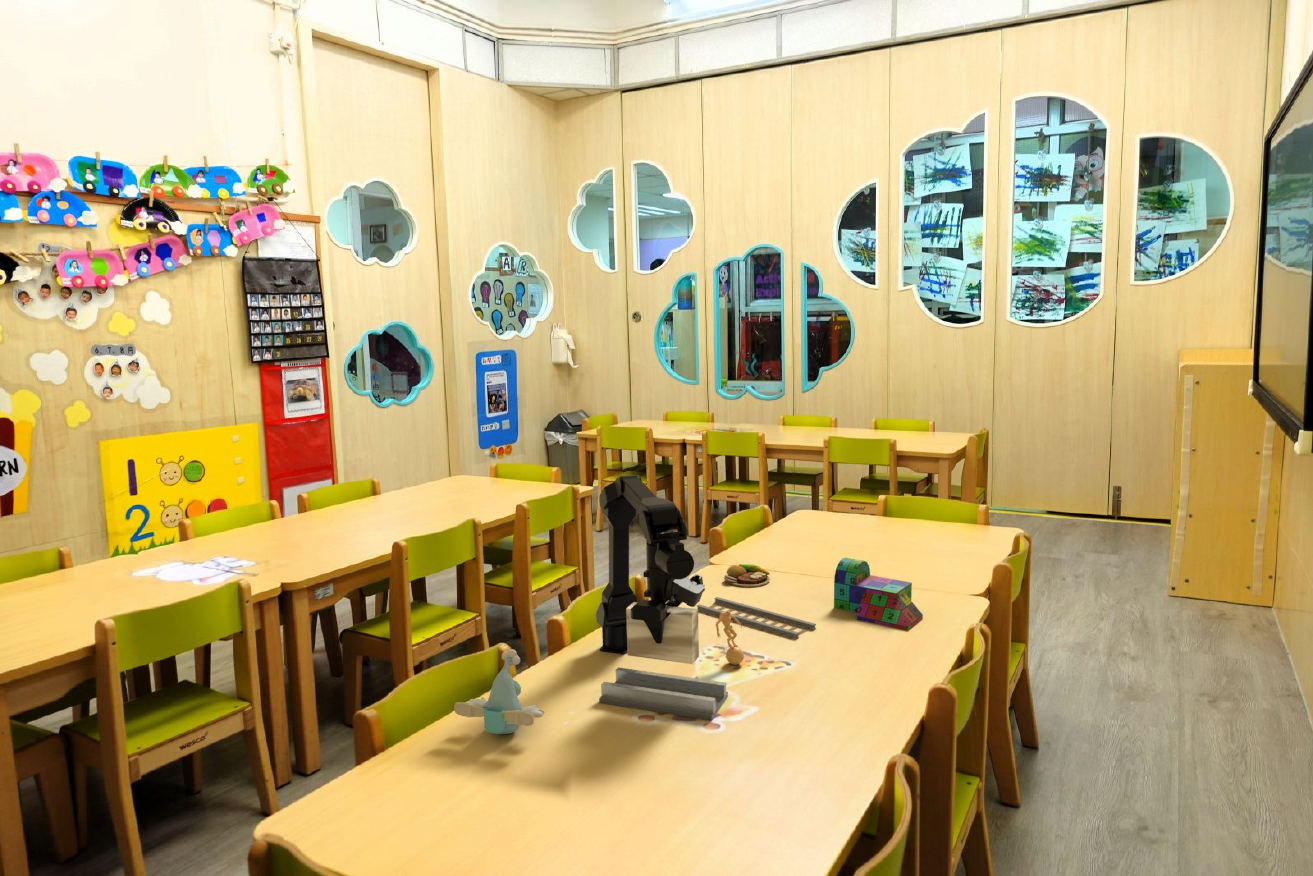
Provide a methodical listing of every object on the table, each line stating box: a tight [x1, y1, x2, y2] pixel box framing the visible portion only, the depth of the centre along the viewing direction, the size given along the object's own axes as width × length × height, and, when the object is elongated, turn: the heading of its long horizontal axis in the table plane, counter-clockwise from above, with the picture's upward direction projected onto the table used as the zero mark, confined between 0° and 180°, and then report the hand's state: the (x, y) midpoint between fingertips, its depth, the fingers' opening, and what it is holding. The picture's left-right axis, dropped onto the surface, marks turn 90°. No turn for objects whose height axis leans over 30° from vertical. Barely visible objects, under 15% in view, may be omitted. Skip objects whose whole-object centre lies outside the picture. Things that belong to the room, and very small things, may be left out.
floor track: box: [598, 667, 729, 721], centre depth 177 cm, size 24×11×4 cm, turn 69°
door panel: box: [626, 601, 700, 665], centre depth 175 cm, size 4×14×10 cm, turn 69°
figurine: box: [715, 610, 745, 666], centre depth 193 cm, size 8×6×12 cm
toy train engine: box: [833, 557, 924, 631], centre depth 222 cm, size 22×15×12 cm
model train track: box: [696, 596, 817, 640], centre depth 221 cm, size 11×31×2 cm, turn 47°
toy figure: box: [453, 648, 545, 735], centre depth 164 cm, size 17×10×15 cm, turn 71°
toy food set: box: [723, 563, 771, 588], centre depth 252 cm, size 20×14×4 cm
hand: (662, 639), depth 175 cm, fingers closed on door panel, 4 cm apart
